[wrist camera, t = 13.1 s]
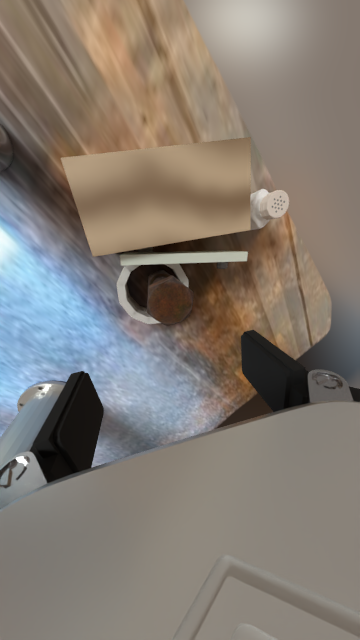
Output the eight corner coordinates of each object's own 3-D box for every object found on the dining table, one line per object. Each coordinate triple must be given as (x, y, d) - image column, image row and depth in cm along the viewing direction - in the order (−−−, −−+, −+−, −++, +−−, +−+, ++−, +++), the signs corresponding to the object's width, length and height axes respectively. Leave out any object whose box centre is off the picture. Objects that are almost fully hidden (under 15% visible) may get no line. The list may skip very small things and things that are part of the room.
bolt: (179, 278, 34) (204, 300, 21) (163, 300, 35) (177, 333, 22) (154, 259, 32) (163, 268, 19) (138, 282, 33) (135, 307, 20)
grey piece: (219, 313, 36) (238, 330, 29) (123, 321, 33) (118, 342, 26) (224, 250, 31) (247, 251, 24) (114, 253, 28) (104, 255, 21)
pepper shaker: (227, 217, 32) (258, 206, 23) (242, 196, 31) (280, 177, 23) (241, 232, 34) (276, 228, 25) (256, 213, 33) (297, 202, 24)
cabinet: (219, 300, 38) (250, 322, 27) (129, 319, 36) (124, 351, 25) (211, 177, 29) (250, 137, 19) (92, 192, 27) (60, 157, 17)
